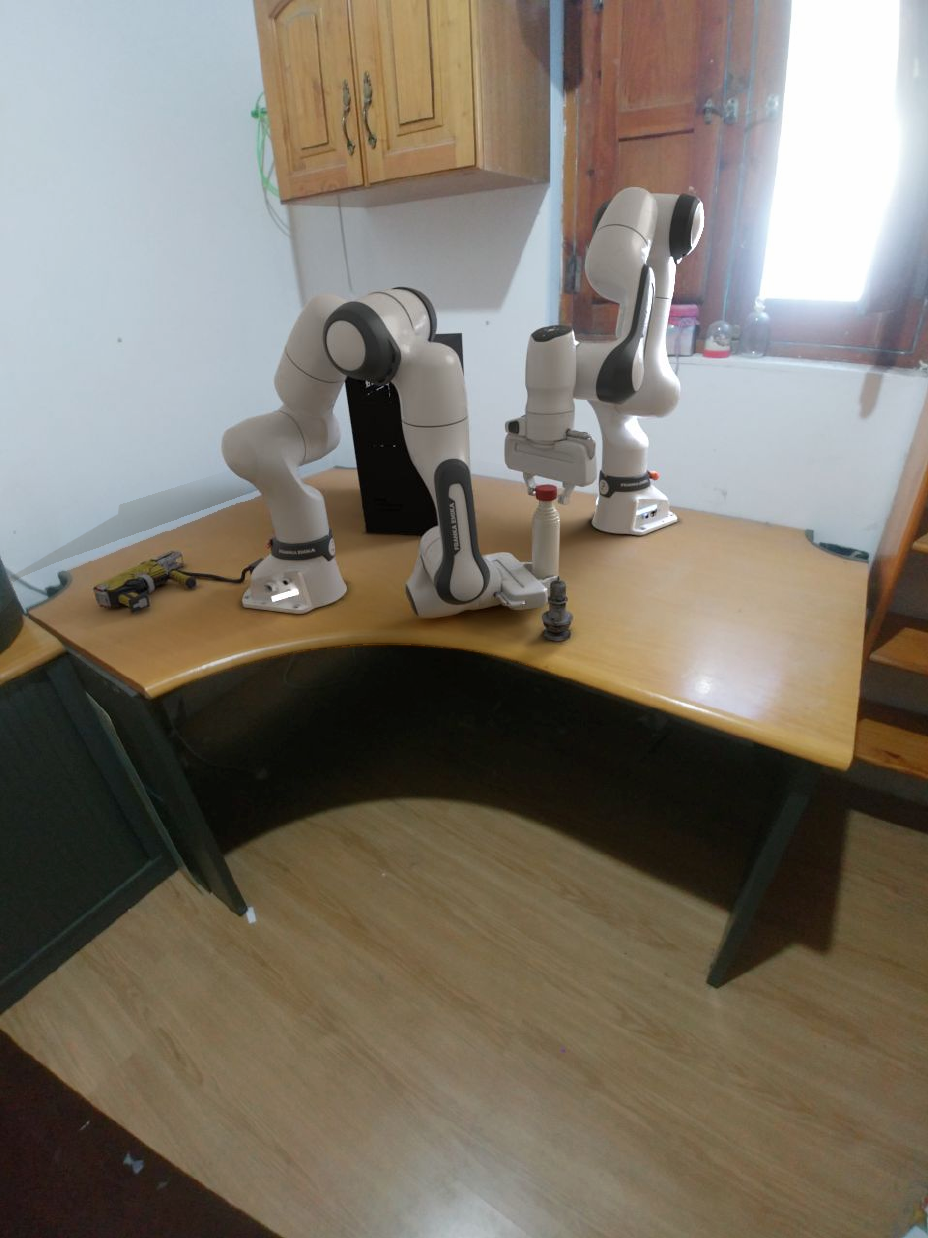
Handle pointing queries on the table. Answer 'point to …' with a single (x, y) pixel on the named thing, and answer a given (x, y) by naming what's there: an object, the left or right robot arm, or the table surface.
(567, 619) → the grey stepped cylinder
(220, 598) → the table surface
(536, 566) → the bottle
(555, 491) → the cap
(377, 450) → the black tall box
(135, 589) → the toy gun
